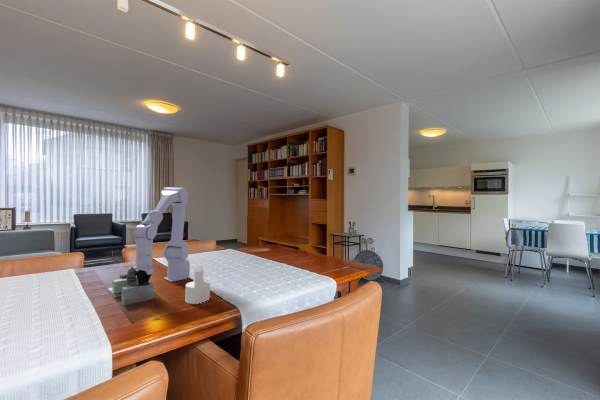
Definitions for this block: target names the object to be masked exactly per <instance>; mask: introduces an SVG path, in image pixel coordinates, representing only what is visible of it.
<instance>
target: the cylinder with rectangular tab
mask: <svg viewBox="0 0 600 400" xmlns="http://www.w3.org/2000/svg"><path fill="white" fill-rule="evenodd" d="M184 292H185V293H184V294H185V295H184V299H185V300H184V301H185V302H186V304H190V305H191V304H192V305H198V304H199V303H200V304H203V303H202V302H204V303H206V302H205V301H207V300H209V298H210V299H211V282H210V281H208V280H204V268H203V265H194V266H193V281H191V282H190V281H189V282H187V283H185V291H184ZM209 301H210V300H209ZM207 302H208V301H207Z"/></svg>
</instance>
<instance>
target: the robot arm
mask: <svg viewBox="0 0 600 400" xmlns="http://www.w3.org/2000/svg"><path fill="white" fill-rule="evenodd" d="M160 195H161V197H160V199H159V202H157V205H156V206H155V208H154V210H153V209H152V210H150V211H149V212H148V214H147V215H146V217H145V218H144V219H143V221H142V222H141V223H140V224H138V225H137V226H135V227H134V229H133V232H132V237H133V238H134V242H135V244H136V245H135V247H136V248H135V250H136V251H135V264H134V266H132V267H133V269H135V270H136V276H137V279H138V283H139V284H144V283H149V282H150V279H151V276H152V275H153V274H154V268H153V267H154V266H153V249H154V247H153V246H154V244H153V243H154V242H153V241H154V239H155V238H156V236H157V235H158V229H159V228H158V226H160V224H161V222H162V221H163V218H164V215H163V214H164V213H165V212H166V210H167V209H168V208H169V206H170V205H171V207H173V210H172V211H173V212H172V224H171V236H170V240H169V241H168V242H166V243H165V248H164V251H163V257H164V258H165V259H166V260H165V261H166V262H167V273H166V274H167V276H164V277H163V279H164V280H167V281H168V282H171V283H173V282H176V281H177V282H178V281H181V280H187V278H188V279H191V276H190V274H191V273H190V270H191V264H190V260H189V259H188V257H189V254H190V253H189V244H188V243H187V242H186V241H185V240H183V239H184V229H185V228H184V227H185V218H186V217H185V216H186V206H187V205H188V201H189V200H188V199H189V197H188V196H189V192H188V190H187V189H186V187H185V186H184V187H183V186H182V187H172V186H171V187H169V186H165V187H163V188H162V190H161V192H160Z"/></svg>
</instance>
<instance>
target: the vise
mask: <svg viewBox="0 0 600 400" xmlns="http://www.w3.org/2000/svg"><path fill="white" fill-rule="evenodd" d="M112 291H113V287H108V288H107V292H109V293H110V294H111V296H113V297H114V298H119V297H120V298H121V301H120V303H121V305H122V306H124V307H125V306H130V305H134V304H138V303H142V302H147V301H150V300H154V297H155V284H154V283H153V282H152V281H149V282H148V283H144V284H138V285H133V286H128V287H122V292H120V293H113V292H112Z"/></svg>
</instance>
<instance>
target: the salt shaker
mask: <svg viewBox="0 0 600 400" xmlns="http://www.w3.org/2000/svg"><path fill="white" fill-rule="evenodd" d="M133 267H134V266H131V268H129V269H127V272H126V273H127V278H126V280H127V285H126V287H128V286H133V285H136V279H137V277H136V271H137V269H133Z"/></svg>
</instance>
